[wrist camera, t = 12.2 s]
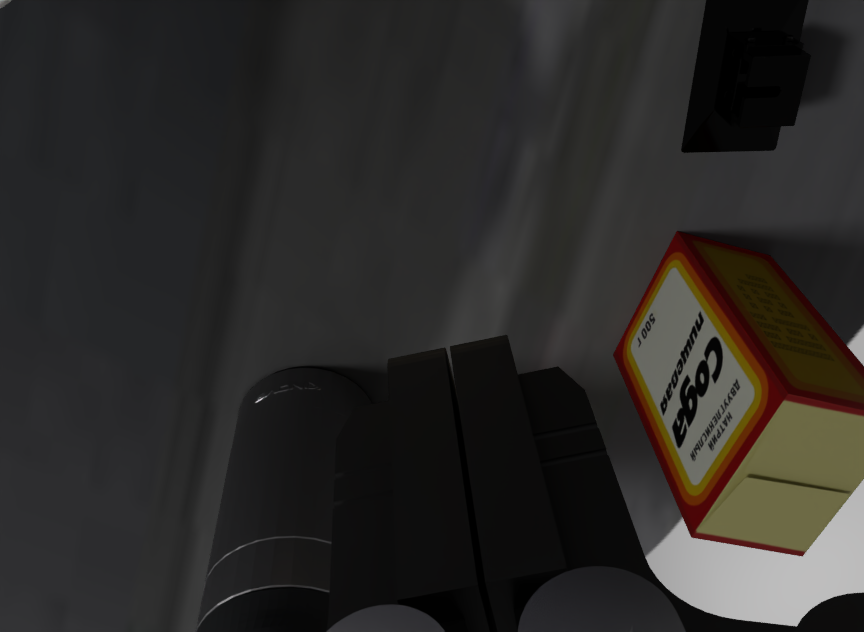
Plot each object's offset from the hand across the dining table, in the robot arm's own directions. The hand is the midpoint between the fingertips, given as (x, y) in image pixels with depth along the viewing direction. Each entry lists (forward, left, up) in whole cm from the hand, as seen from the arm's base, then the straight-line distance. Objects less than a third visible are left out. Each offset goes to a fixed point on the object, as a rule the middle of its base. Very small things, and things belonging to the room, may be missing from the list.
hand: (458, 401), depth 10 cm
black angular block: (-10, -17, -36) cm, 41 cm away
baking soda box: (-25, -14, -35) cm, 45 cm away
